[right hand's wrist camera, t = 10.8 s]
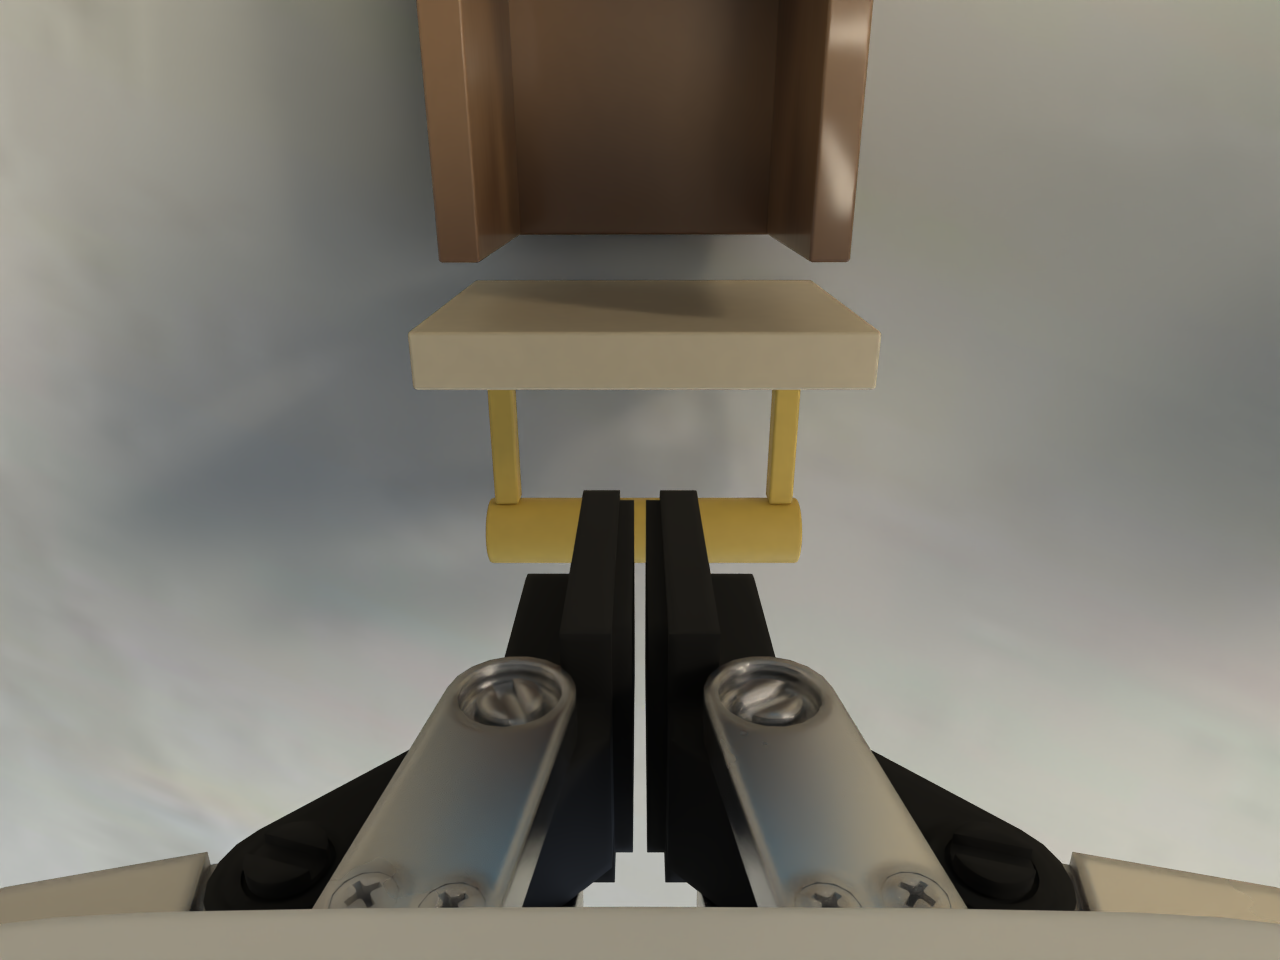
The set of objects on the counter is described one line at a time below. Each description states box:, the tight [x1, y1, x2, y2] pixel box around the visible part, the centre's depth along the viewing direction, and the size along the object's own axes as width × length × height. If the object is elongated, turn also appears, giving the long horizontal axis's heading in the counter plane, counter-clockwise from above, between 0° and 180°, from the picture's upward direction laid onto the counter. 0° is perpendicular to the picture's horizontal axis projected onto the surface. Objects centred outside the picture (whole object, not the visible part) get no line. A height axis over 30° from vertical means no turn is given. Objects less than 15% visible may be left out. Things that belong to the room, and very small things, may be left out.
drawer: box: [408, 0, 881, 563], centre depth 18 cm, size 23×9×7 cm, turn 0°
